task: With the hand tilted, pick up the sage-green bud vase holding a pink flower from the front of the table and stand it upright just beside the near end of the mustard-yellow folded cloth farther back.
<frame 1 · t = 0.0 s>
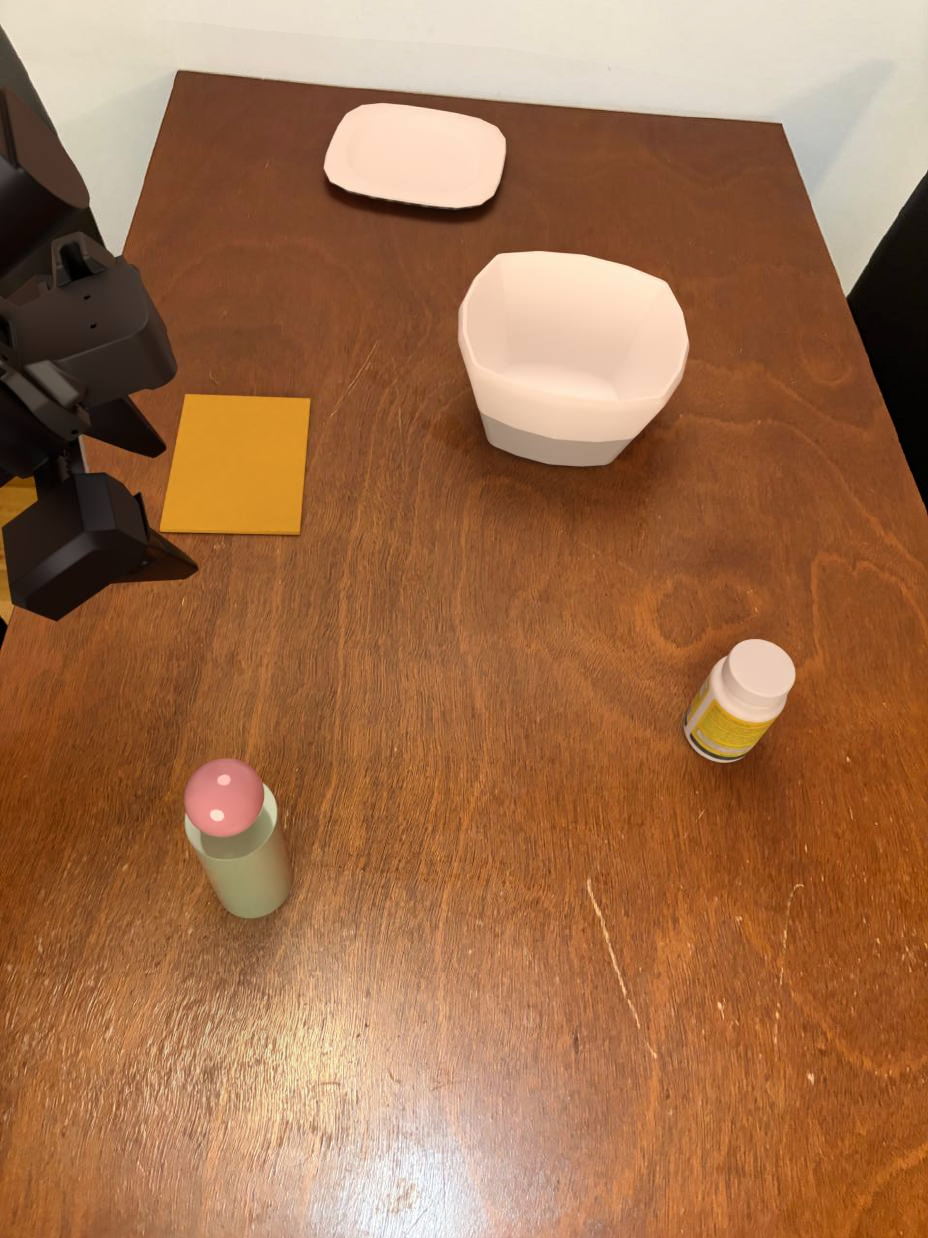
hand: (175, 509, 50), 12 cm above the table, tool tilted 35°, fingers open, 9 cm apart
bowl: (554, 415, 75), on the table
supplement bottle: (716, 732, 59), on the table
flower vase: (254, 879, 51), on the table
plate: (416, 168, 94), on the table
cloth: (240, 462, 69), on the table
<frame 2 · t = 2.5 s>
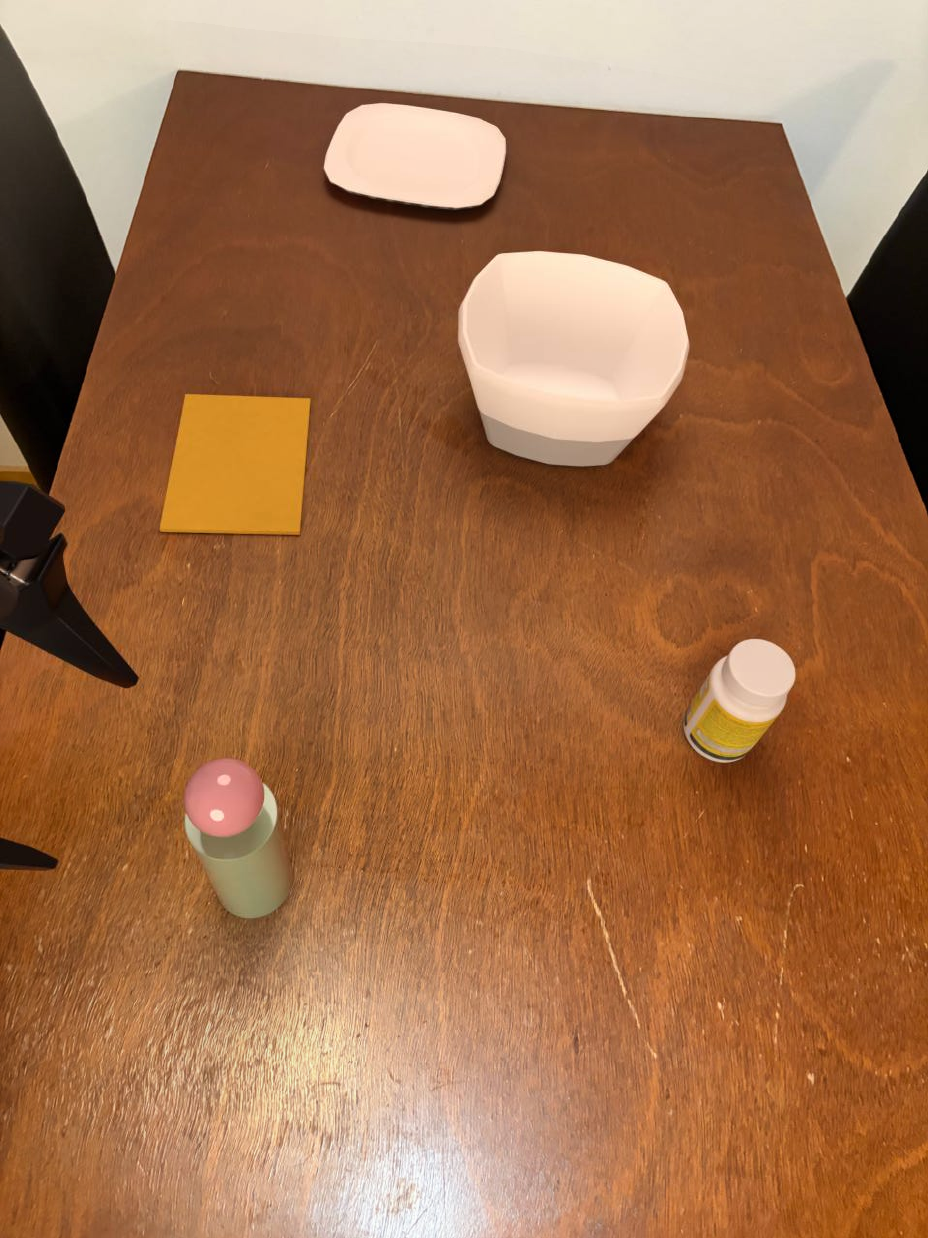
hand: (95, 769, 41), 13 cm above the table, tool tilted 45°, fingers open, 9 cm apart
nothing on the table moved.
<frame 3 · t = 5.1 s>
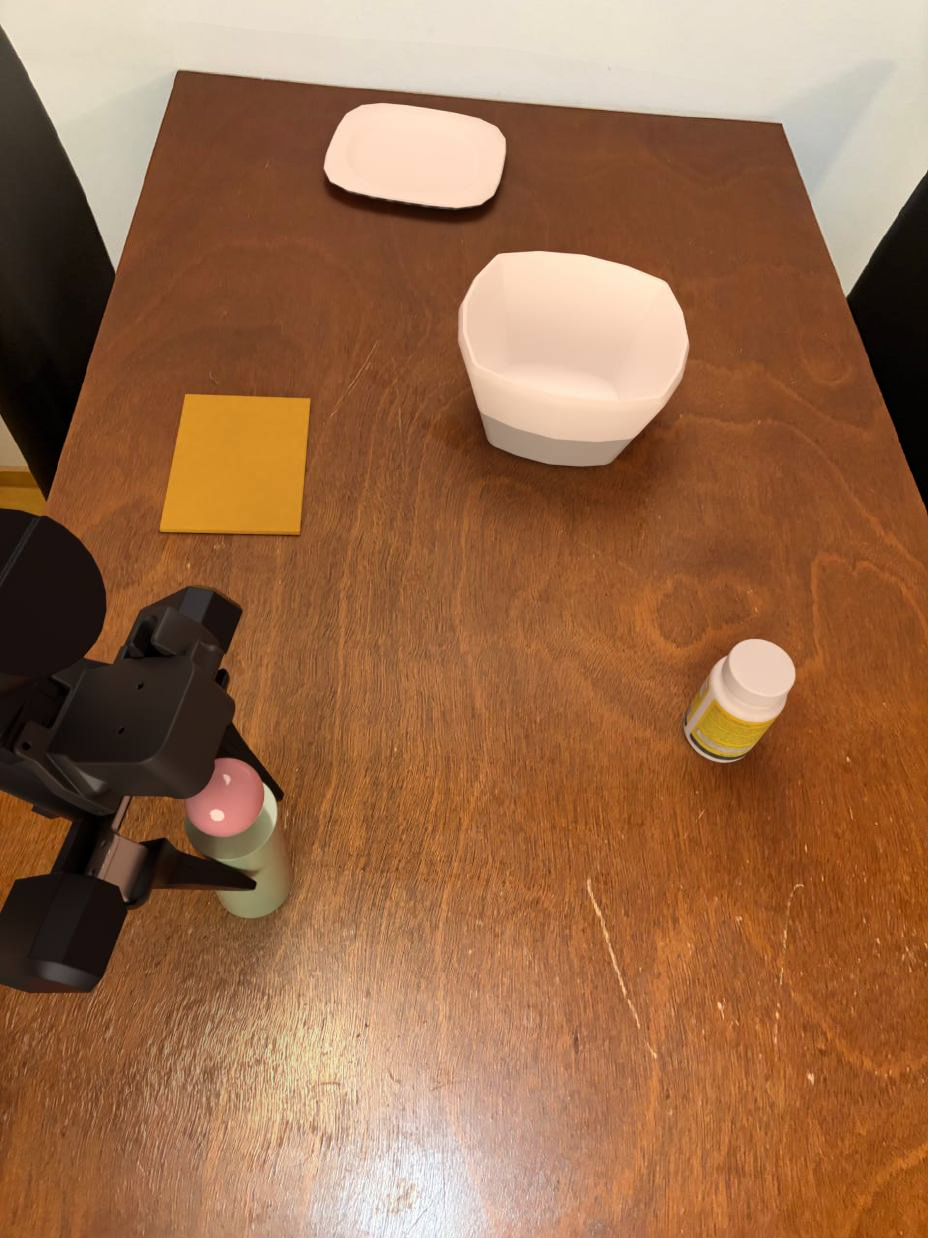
hand: (265, 842, 45), 7 cm above the table, tool tilted 45°, fingers closed on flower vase, 4 cm apart
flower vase: (254, 879, 51), on the table, touching gripper
everything else where it was.
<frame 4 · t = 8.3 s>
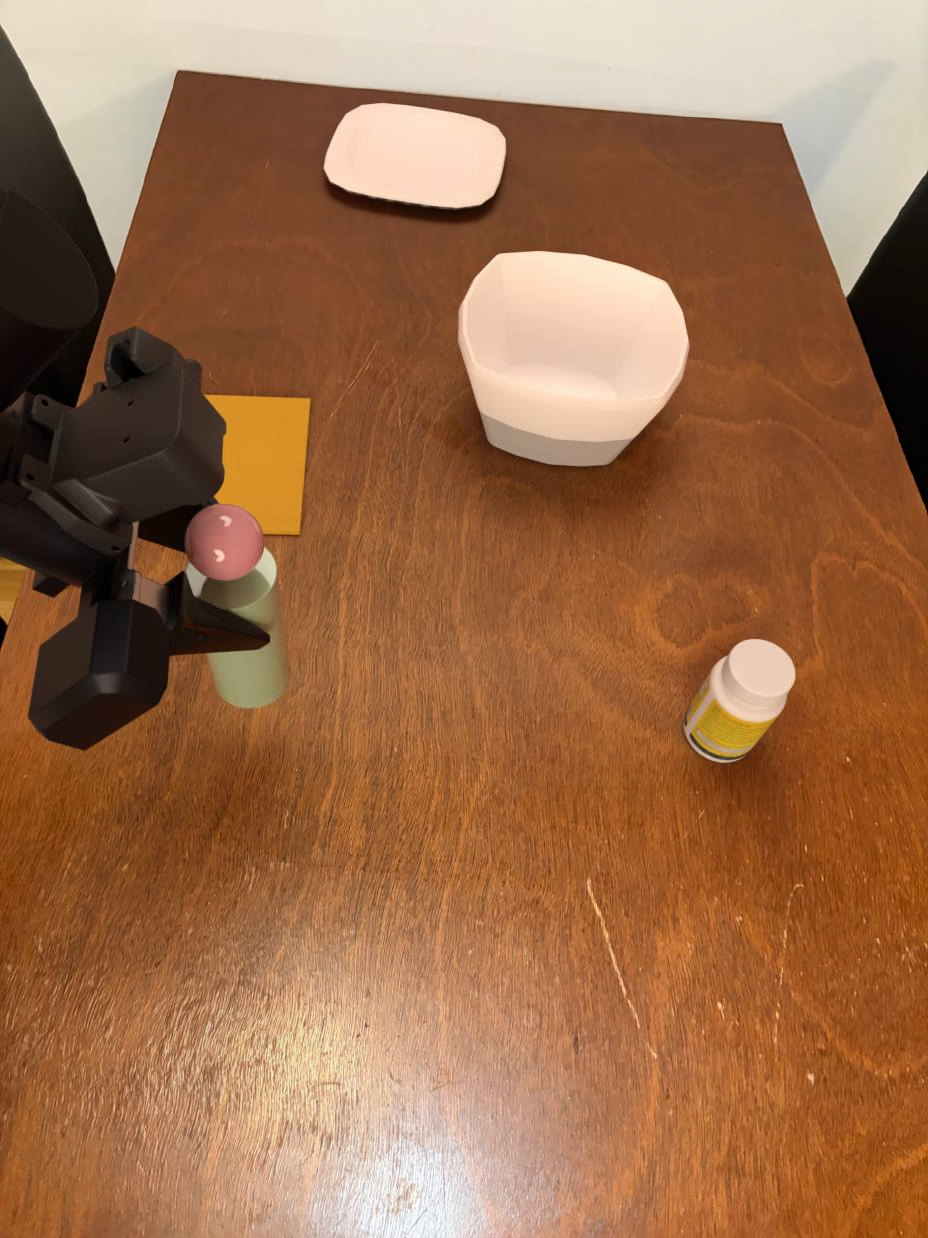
hand: (265, 604, 46), 13 cm above the table, tool tilted 45°, fingers closed on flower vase, 4 cm apart
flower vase: (252, 675, 51), point 6 cm above the table, touching gripper
everything else where it was.
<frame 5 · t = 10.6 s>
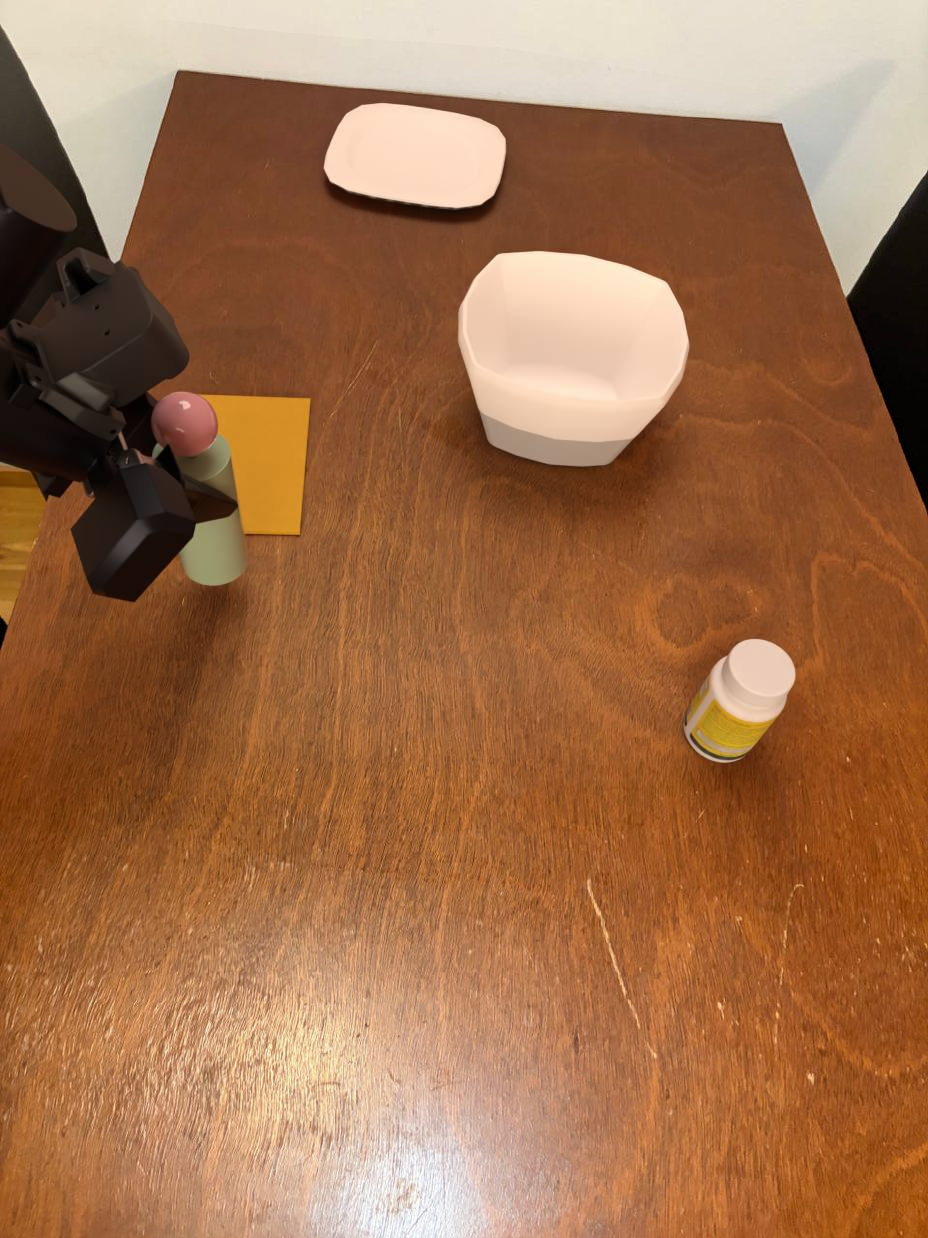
hand: (221, 482, 54), 10 cm above the table, tool tilted 45°, fingers closed on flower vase, 4 cm apart
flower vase: (215, 559, 60), point 3 cm above the table, touching gripper
everything else where it was.
when the fingers open (7 cm above the table, at t = 11.9 s): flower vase stays where it is, on the table.
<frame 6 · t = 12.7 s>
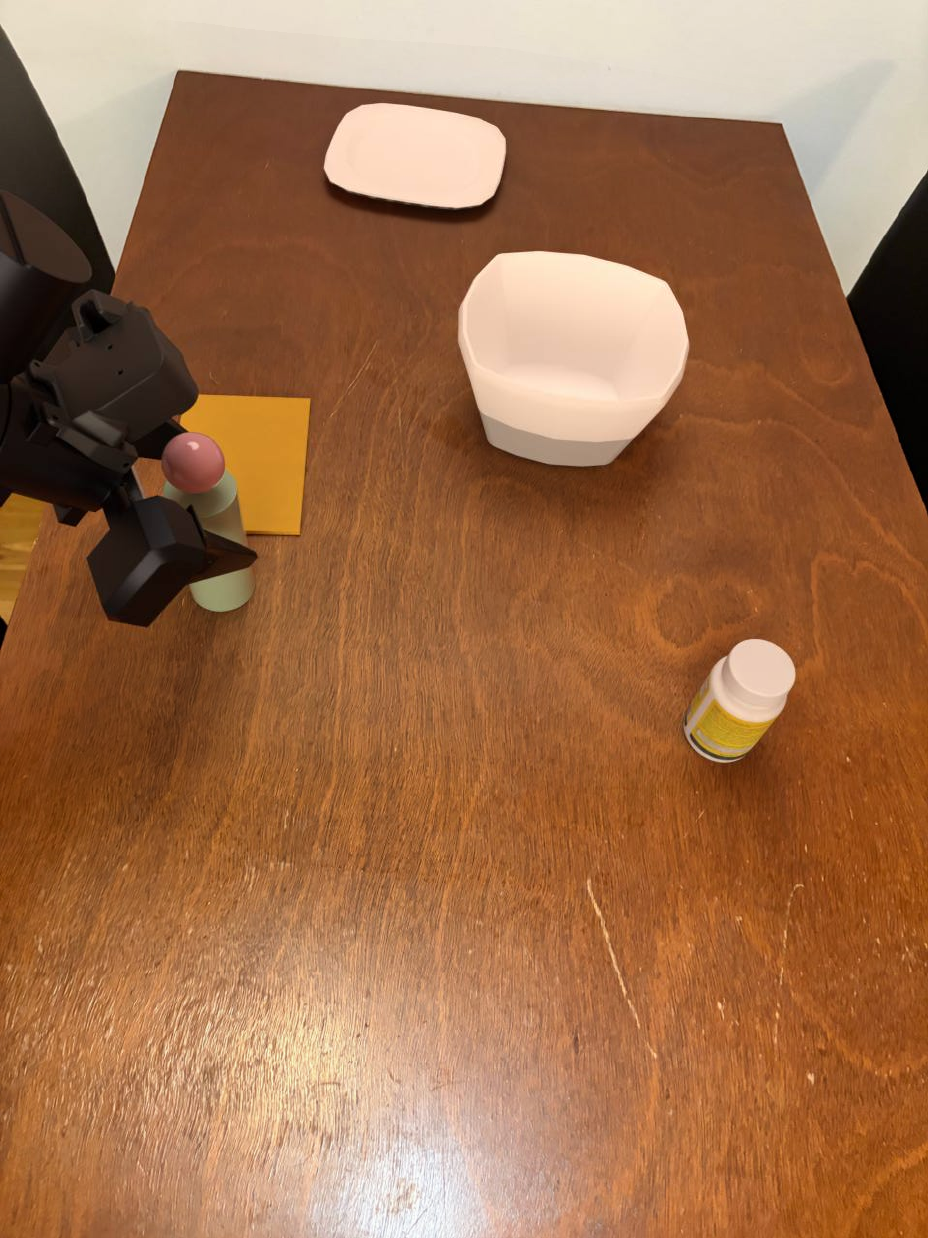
hand: (229, 506, 56), 8 cm above the table, tool tilted 45°, fingers open, 9 cm apart
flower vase: (223, 585, 62), on the table
everything else where it was.
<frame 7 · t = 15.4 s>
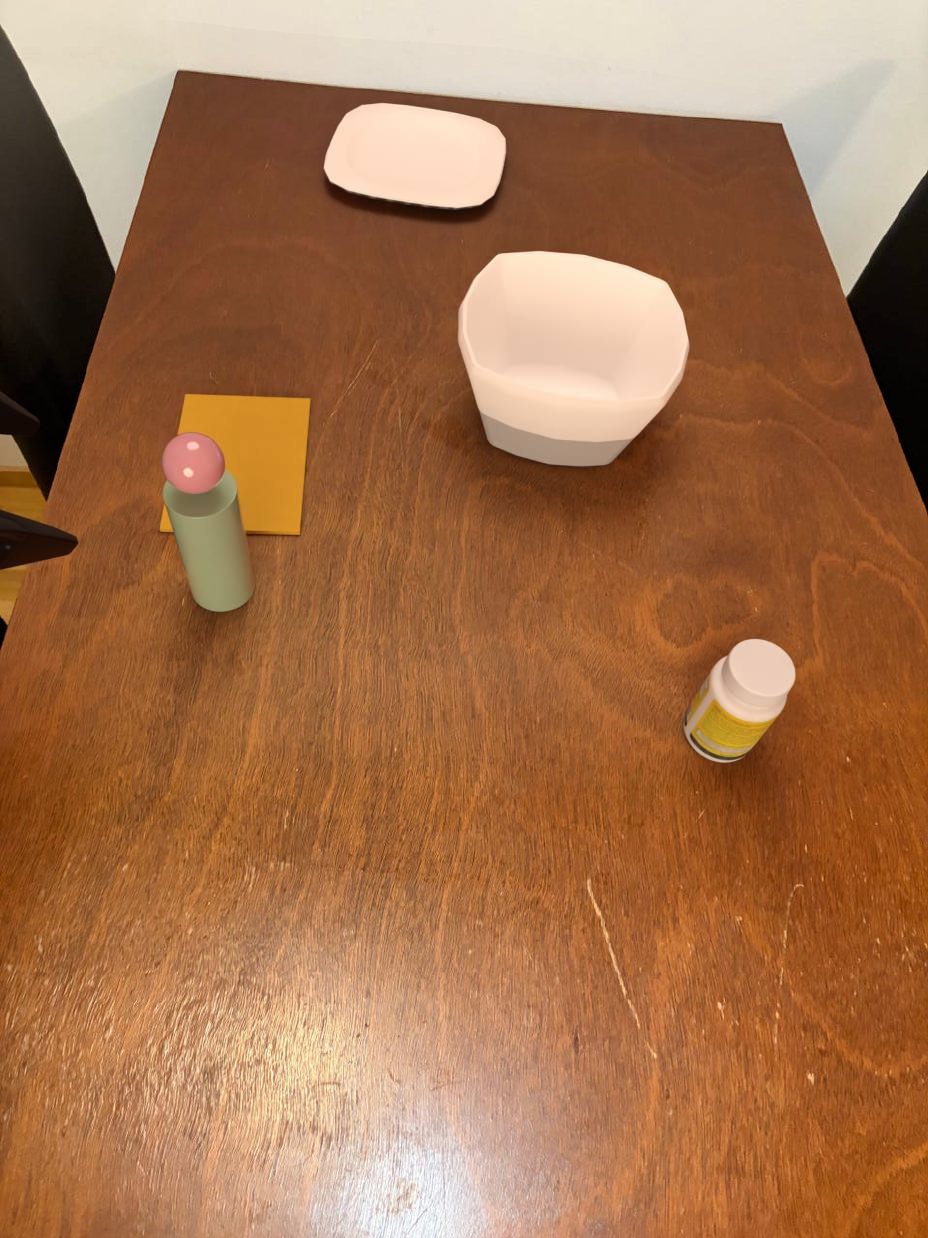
hand: (54, 484, 49), 14 cm above the table, tool tilted 45°, fingers open, 9 cm apart
nothing on the table moved.
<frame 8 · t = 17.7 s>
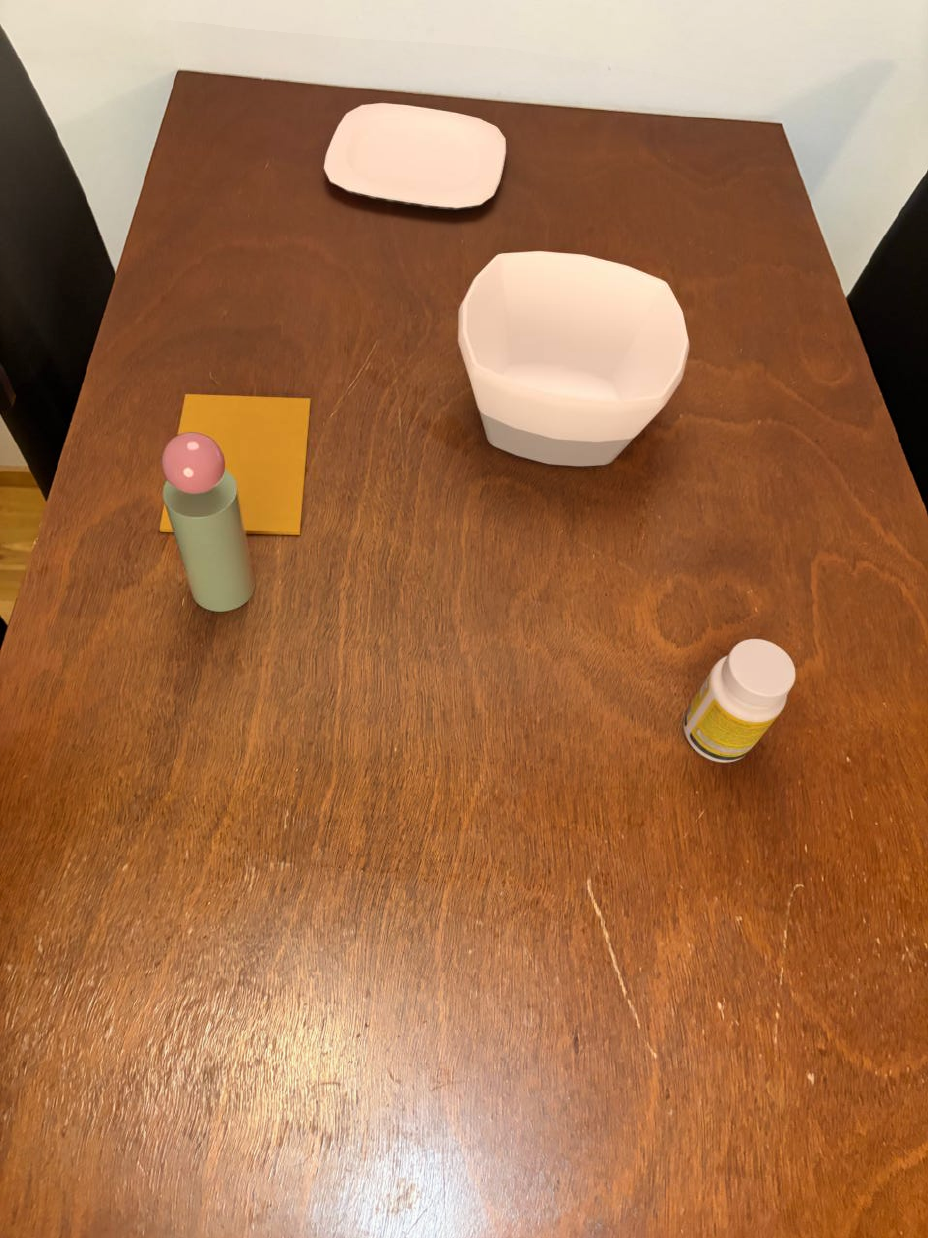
nothing on the table moved.
at the end: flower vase 0.1 cm from the target spot on the table beside the cloth, on the table; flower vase tilted 0°; the gripper is holding nothing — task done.
